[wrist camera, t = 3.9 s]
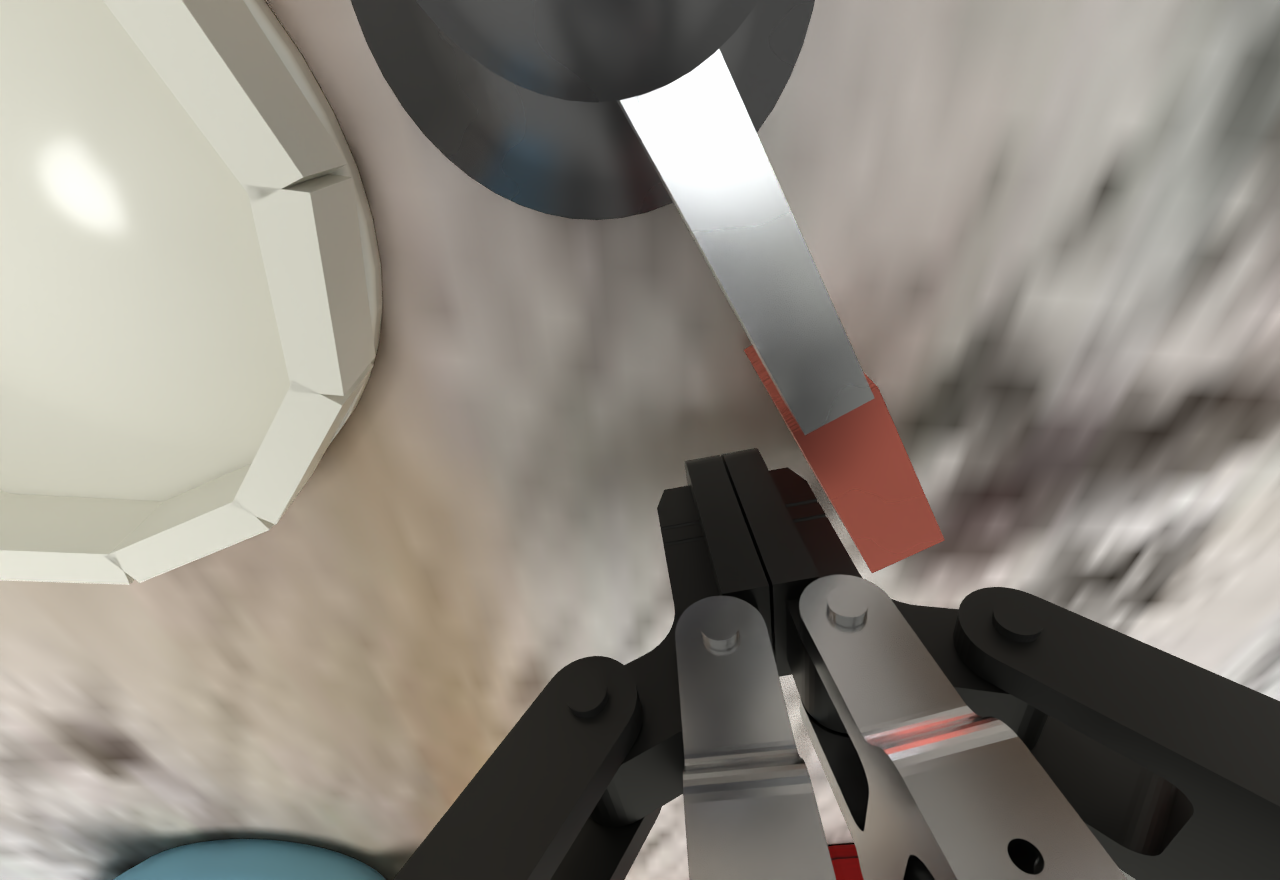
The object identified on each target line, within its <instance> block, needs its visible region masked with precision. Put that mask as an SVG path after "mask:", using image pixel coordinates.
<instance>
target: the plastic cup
mask: <svg viewBox="0 0 1280 880" xmlns="http://www.w3.org/2000/svg"><path fill="white" fill-rule="evenodd" d="M828 850H829V854H830V857H831V861H832V865H833V869H834V873H835V877H836V880H864V879H863V875H862V872H861V868H860V863H859V858H858V854H857V850H856V847H855V844H850V845H834V846H829V847H828Z"/></svg>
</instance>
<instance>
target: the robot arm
mask: <svg viewBox="0 0 1280 880" xmlns="http://www.w3.org/2000/svg"><path fill="white" fill-rule="evenodd" d="M685 470H686V477H687V484H688V486H684V487H678V488H673V489H667V490H664V493H663V495H662V498H661V500H660V503H659V505H658V508H657V510H658V515H659V521H660V527H661V532H662V538H663V544H664V549H665V555H666V561H667V566H668V572H669V578H670V583H671V589H672V595H673V600H674V606H675V617H674V622H673V625H672V628H671V630H670V632H669V634H668V635H667V636H666V638H665V639H664V640H663V641H662V642H661V643H660V645H658V646H657V647H656V648H655V649H653V650H652V651H650V652H649V653H647V654H645V655H644V656H642V657H640V658H638V659H636V660H634V661H632V662H630V663H628V664H626V665H623V664H621V663H620V662H618V661H616V660H614V659H611V658H608V657H603V656H592V657H586V658H582V659H579V660H576V661H574V662H572V663H570V664H569V665H567V666H565V667H564V668H563V669H561V670H560V671H559V672H558V673H557V674H556V675H555V676H554V677H553V678H552V679H551V681H550V682H549V683H548V684H547V686H546V687H545V688H544V690H543V691H542V692H541V693H540V695H539V696H538V697H537V698H536V700H535V701H534V702H533V703H532V705H531V706H530V707H529V708H528V710H527V711H526V712H525V714H524V715H523V716H522V717H521V719H520V720H519V721H518V722H517V724H516V725H515V726H514V727H513V729H512V730H511V731H510V732H509V734H508V735H507V736H506V738H505V739H504V740H503V741H502V743H501V744H500V745H499V746H498V748H497V749H496V750H495V751H494V753H493V754H492V755H491V756H490V758H489V759H488V760H487V762H486V763H485V764H484V765H483V767H482V768H481V769H480V770H479V772H478V773H477V774H476V775H475V777H474V778H473V779H472V780H471V782H470V783H469V784H468V786H467V787H466V788H465V789H464V791H463V792H462V793H461V794H460V796H459V797H458V798H457V799H456V801H455V802H454V803H453V804H452V806H451V807H450V808H449V810H448V811H447V812H446V813H445V815H444V816H443V817H442V818H441V820H440V821H439V822H438V823H437V825H436V826H435V827H434V828H433V830H432V831H431V832H430V834H429V835H428V836H427V837H426V839H425V840H424V841H423V842H422V844H421V845H420V846H419V847H418V849H417V850H416V851H415V852H414V854H413V855H412V856H411V858H410V859H409V860H408V861H407V863H406V864H405V865H404V866H403V868H402V869H401V870H400V871H399V873H398V874H397V875H396V876H395V878H394V879H393V880H624V879H625V877H626V875H627V874H628V872H629V870H630V868H631V866H632V864H633V862H634V860H635V859H636V857H637V855H638V853H639V851H640V849H641V847H642V845H643V843H644V842H645V840H646V838H647V836H648V834H649V832H650V830H651V828H652V827H653V825H654V823H655V821H656V819H657V817H658V815H659V813H660V810H661V807H662V806H663V805H665V804H666V803H668V802H670V801H671V800H673V799H675V798H676V797H678V796H680V795H681V794H683V796H684V810H685V824H686V838H687V852H688V866H689V880H836V877H835V873H834V869H833V865H832V861H831V857H830V854H829V850H828V846H827V842H826V838H825V834H824V830H823V826H822V822H821V818H820V814H819V810H818V806H817V803H816V799H815V795H814V791H813V787H812V783H811V780H810V776H809V773H808V770H807V767H806V765H805V762H804V760H803V759H802V758H800V756H799V754H798V751H797V748H796V744H795V740H794V736H793V732H792V728H791V724H790V720H789V716H788V712H787V708H786V704H785V700H784V696H783V692H782V687H781V683H780V679H779V676H785V675H791V674H792V675H793V678H794V680H795V683H796V686H797V689H798V692H799V694H800V714H801V718H802V721H803V723H804V726H805V728H806V730H807V733H808V735H809V737H810V740H811V742H812V744H813V747H814V749H815V751H816V754H817V756H818V758H819V761H820V763H821V765H822V768H823V770H824V772H825V775H826V777H827V779H828V781H829V784H830V786H831V788H832V791H833V793H834V795H835V798H836V800H837V802H838V805H839V807H840V809H841V812H842V814H843V816H844V819H845V821H846V823H847V826H848V828H849V830H850V833H851V835H852V838H853V841H854V844H855V847H856V850H857V854H858V858H859V863H860V868H861V872H862V875H863V879H864V880H1127V878H1126V877H1125V876H1124V874H1123V873H1122V872H1121V870H1122V871H1124V872H1125V873H1127V874H1129V875H1130V876H1131V877H1133V878H1135V879H1136V880H1280V701H1278V700H1275V699H1273V698H1271V697H1268V696H1266V695H1264V694H1261V693H1259V692H1257V691H1254V690H1252V689H1250V688H1247V687H1245V686H1243V685H1240V684H1238V683H1236V682H1234V681H1231V680H1229V679H1227V678H1224V677H1222V676H1220V675H1217V674H1215V673H1213V672H1210V671H1208V670H1206V669H1203V668H1201V667H1199V666H1196V665H1194V664H1192V663H1189V662H1187V661H1185V660H1182V659H1180V658H1178V657H1176V656H1173V655H1171V654H1169V653H1166V652H1164V651H1162V650H1159V649H1157V648H1155V647H1152V646H1150V645H1148V644H1145V643H1143V642H1141V641H1138V640H1136V639H1134V638H1131V637H1129V636H1127V635H1125V634H1122V633H1120V632H1118V631H1115V630H1113V629H1111V628H1108V627H1106V626H1104V625H1101V624H1099V623H1097V622H1094V621H1092V620H1090V619H1087V618H1085V617H1083V616H1080V615H1078V614H1076V613H1074V612H1071V611H1069V610H1067V609H1064V608H1062V607H1060V606H1057V605H1055V604H1053V603H1050V602H1048V601H1046V600H1043V599H1041V598H1039V597H1036V596H1034V595H1032V594H1029V593H1026V592H1023V591H1020V590H1016V589H1011V588H1004V587H990V588H983V589H979V590H977V591H974V592H972V593H970V594H969V595H967V596H966V597H965V598H964V600H963V601H962V603H961V605H960V607H959V609H948V608H937V607H926V606H917V605H910V604H906V603H902V602H898V601H896V600H893V599H890V597H889V596H888V595H887V594H886V593H885V592H884V591H883V590H882V589H881V588H880V587H878V586H877V585H875V584H873V583H872V582H870V581H867V580H865V579H863V578H862V577H861V575H860V574H859V572H858V571H857V569H856V567H855V565H854V564H853V562H852V560H851V558H850V557H849V555H848V553H847V551H846V549H845V548H844V546H843V544H842V542H841V541H840V539H839V537H838V535H837V534H836V532H835V530H834V528H833V527H832V525H831V523H830V521H829V520H828V518H826V516H825V513H824V511H823V509H822V507H821V506H820V504H819V502H818V503H817V499H816V497H815V495H814V493H813V492H812V490H811V488H810V486H809V485H808V483H807V481H806V480H804V479H803V478H802V477H800V476H799V475H797V474H796V473H795V472H793V471H792V470H790V469H789V468H788V467H787V468H782V469H776V470H771V471H768V468H767V466H766V464H765V462H764V460H763V458H762V456H761V454H760V452H759V450H758V449H757V448H754V449H749V450H743V451H738V452H732V453H727V454H721V456H720V455H717V456H711V457H706V458H700V459H695V460H689V461H685ZM1120 869H1121V870H1120Z"/></svg>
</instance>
